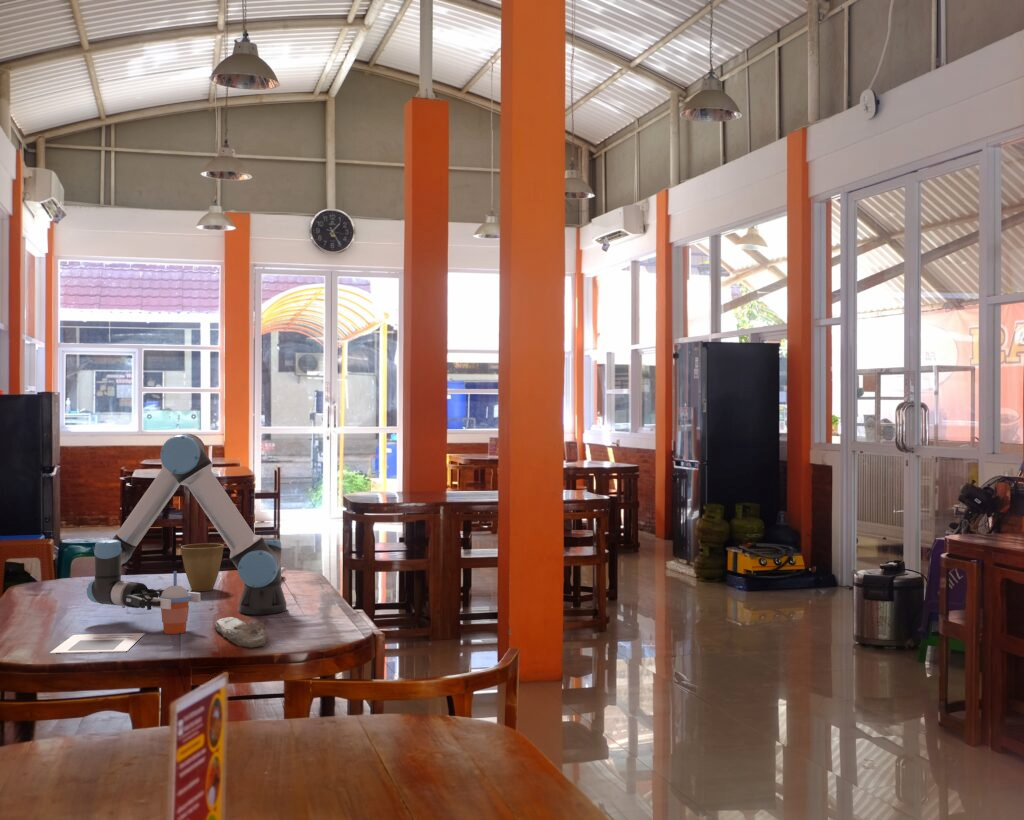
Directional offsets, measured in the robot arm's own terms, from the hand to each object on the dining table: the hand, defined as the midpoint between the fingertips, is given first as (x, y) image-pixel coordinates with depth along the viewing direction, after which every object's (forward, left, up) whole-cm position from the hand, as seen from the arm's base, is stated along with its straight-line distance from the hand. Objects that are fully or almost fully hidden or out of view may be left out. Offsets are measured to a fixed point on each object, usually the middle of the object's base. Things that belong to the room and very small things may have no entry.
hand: (185, 601), depth 306 cm
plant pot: (+7, -73, -10) cm, 74 cm away
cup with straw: (+3, -2, -10) cm, 10 cm away
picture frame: (+21, +11, -9) cm, 26 cm away
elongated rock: (-16, +6, -10) cm, 20 cm away
